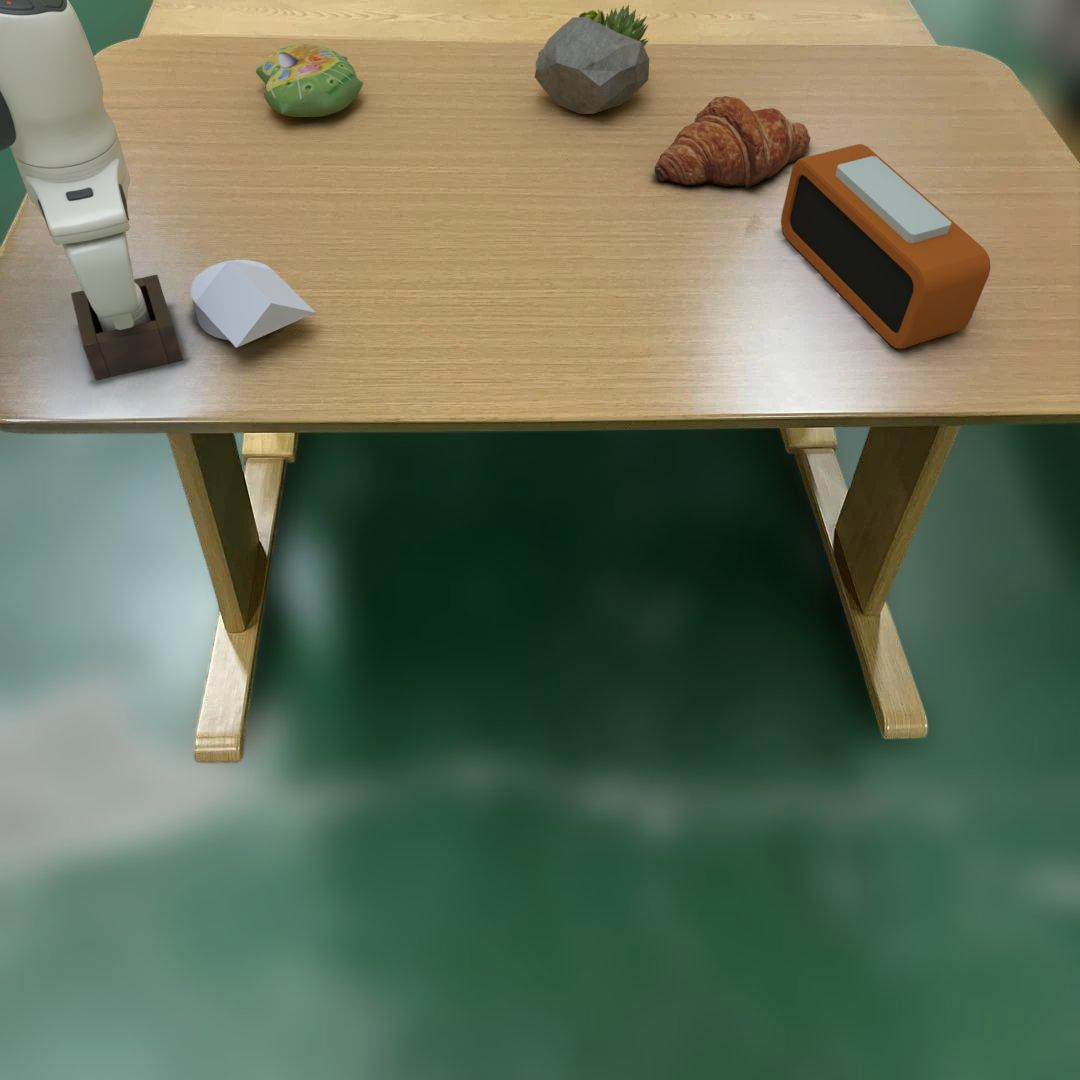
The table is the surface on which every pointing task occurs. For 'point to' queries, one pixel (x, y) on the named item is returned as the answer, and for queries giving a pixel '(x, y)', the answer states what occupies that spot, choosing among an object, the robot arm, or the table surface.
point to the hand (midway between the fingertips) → (116, 295)
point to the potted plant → (594, 61)
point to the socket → (128, 335)
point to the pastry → (732, 146)
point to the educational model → (308, 81)
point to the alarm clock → (883, 245)
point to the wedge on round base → (244, 301)
